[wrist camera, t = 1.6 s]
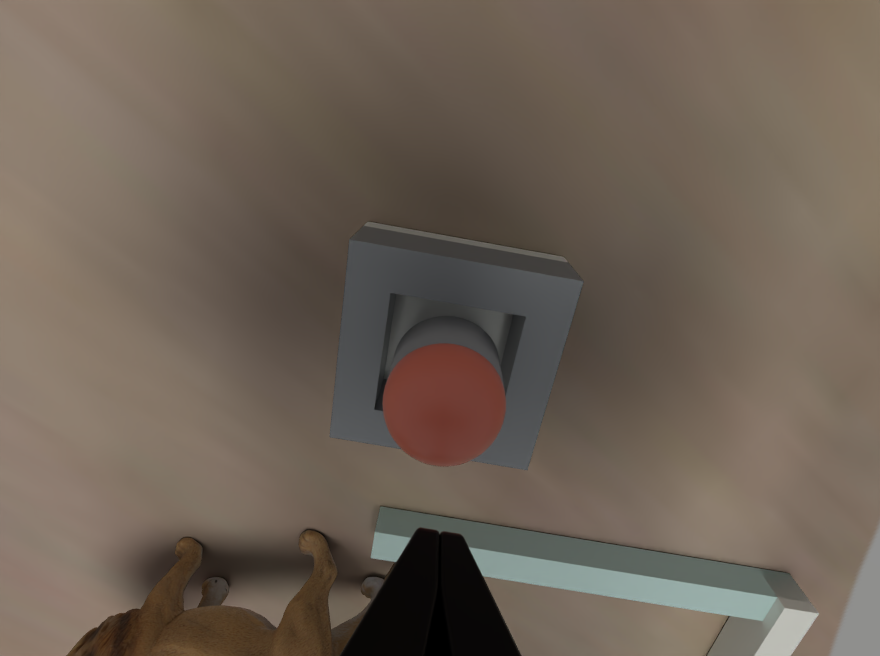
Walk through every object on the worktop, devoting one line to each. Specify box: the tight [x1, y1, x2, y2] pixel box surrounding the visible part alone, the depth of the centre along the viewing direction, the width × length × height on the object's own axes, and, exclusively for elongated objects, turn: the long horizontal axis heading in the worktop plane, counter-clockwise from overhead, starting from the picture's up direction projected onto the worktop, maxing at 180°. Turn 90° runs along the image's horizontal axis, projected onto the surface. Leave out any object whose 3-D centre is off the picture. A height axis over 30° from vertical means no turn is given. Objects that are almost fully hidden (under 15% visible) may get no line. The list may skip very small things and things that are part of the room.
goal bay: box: [371, 506, 819, 656], centre depth 23 cm, size 10×19×2 cm, turn 80°
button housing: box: [330, 222, 584, 470], centre depth 17 cm, size 7×7×3 cm
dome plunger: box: [382, 316, 506, 466], centre depth 14 cm, size 3×3×4 cm
